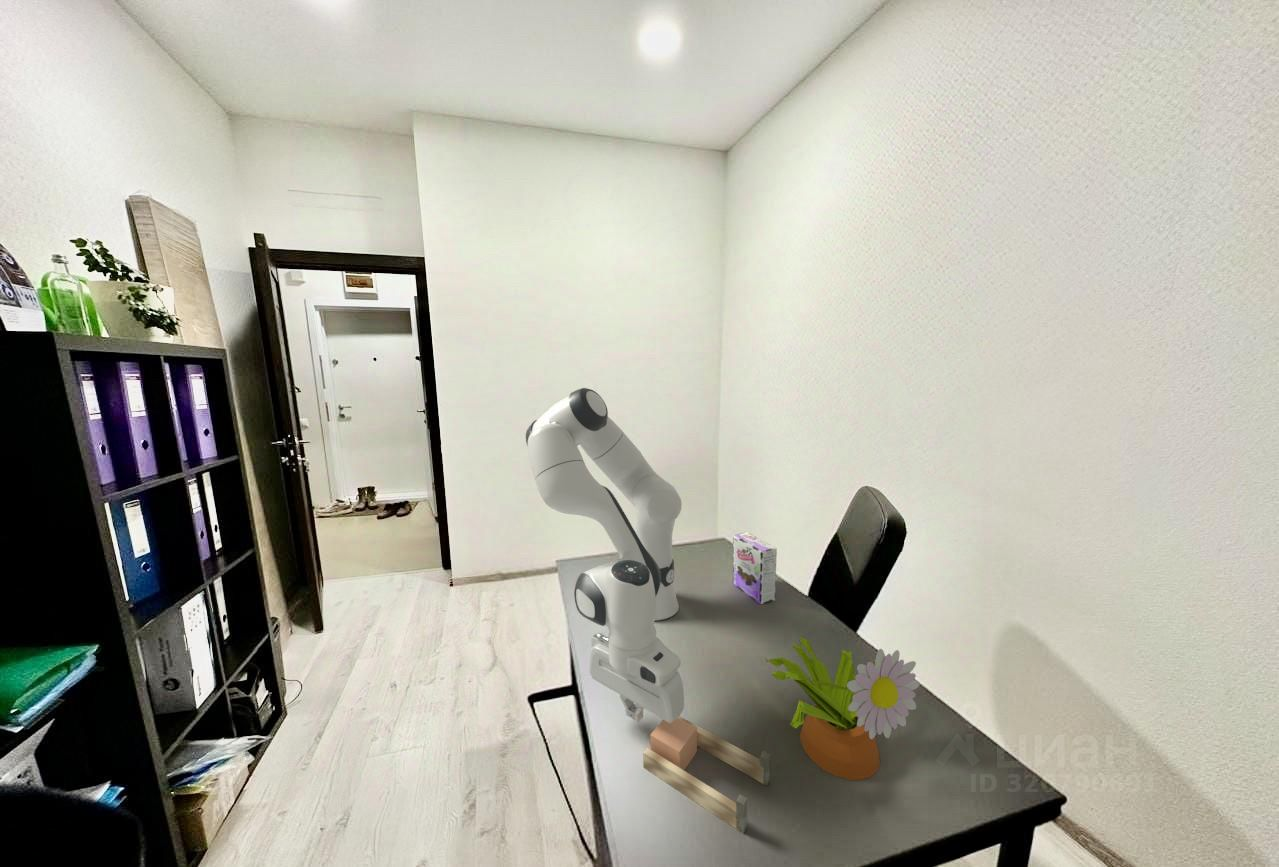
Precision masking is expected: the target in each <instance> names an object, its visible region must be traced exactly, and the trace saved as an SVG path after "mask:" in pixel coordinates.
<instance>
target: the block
mask: <svg viewBox="0 0 1279 867" xmlns="http://www.w3.org/2000/svg"><path fill="white" fill-rule="evenodd" d="M649 736H650V737H649V738H650V739H649V740H650V750H652V751H653V752H655V753H657V754H658V755H660V756H661V757H663V758H665V759H666V760H668V761H669V762H671V763H673V764H674V765H676V766H677V767H679V768H681V769H682V770H684V771H685V770H686V769H687V767H688V766H689V764H690V763H691V761H692V760H693V758H694V757H695V755H696V754H697V752H698V746H697V728H696V727H694V726H693V725H691V724H689V723H687V722H685V721H683V720H681V719H679V718H677V719H676V720H675V721H673V722H672V723H668V722H667V721H665V720H663V719H661V721H660V723H659V724H658V725H657V726H656V728H655V729H654V730H653V731H652V732H651V733H650V735H649Z"/></svg>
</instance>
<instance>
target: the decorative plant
mask: <svg viewBox="0 0 1279 867" xmlns="http://www.w3.org/2000/svg"><path fill="white" fill-rule="evenodd" d="M798 638H799V639H798V640H799V642H800V645H802V646H803V647H804V648H805V650H806V651H807V652H808V653H807V652H806V651H805V650H804V648H802V646H800V645H798V644H794V643H793V644H792V643H791V644H790V645H791V646H792V647H793V649H794V651H795V652H796V653H797V654H798V655H799V657H800V658H801V659H802V661H803V662H804V664H805V666H806V669H807V671H808V673H809V675H810V678H811V679H810V678H809V677H808V675H807V674H806V673H805V672H804V671H803V670H802V669H801V667H800V666H799V664H797V663H796V662H793V661H791V660H789V659H787V658H785V657H775V658H771V659H767V658H765V661H766V662H769V663H770V664H772V665H773V666H775V667H777V668H778V667H780V666H781V665H783V666H784V667H785V668H786V669H787V670H788V671H786V672H784V671H782V670H774V671H772V674H771V676H772V677H773V678H774V679H776V680H779V681H780V680H781V681H786V680H788V679H792V680H794V682H796V683H797V684H798V685H799V686H800V687H801V688H802V689H803V691H804V692H805V693H806V694H807V696H808V697H809V699H810V700H812V702H813V703H814V704H815V705H812V704H810V703H807V702H805V701H802V700H800V699H799V700H798V702H797V703H798V704H797V707H796V711H795V712H794V714H793V716H792V717H793V718H792V719H791V722H790V723H789V726H792V727H793V728H794V729H797V728H799V727H800V726H801V730H800V735H799V738H800V742H801V743H800V744H801V746H802V747H803V750H804V752H805V753H806V754H807V756H808V757H809V758H810V759H811V761H812V762H813V763H814V764H816V765H817V767H819V768H820V769H822V770H824V771H825V772H827V773H829V774H831V775H833V776H835V777H837V778H841V779H844V780H845V779H846V780H850V781H856V780H857V781H860V780H865V779H868V778H870V777H872V776H873V775H875V773H877V771H878V770H879V767H880V762H881V761H880V759H881V758H880V753H879V749H878V748H879V747H878V743H877V742H878V741H877V739H876V735H877V734H878V735H880V736H881V735H882V734H883V735H884V737H885V738H886V739H889V738H890V737H891V733H892V728H893V729H894V730H896V729H898V725H899V726H900V727H901V726H902V727H906V725H907V718H906V717H908V716H909V715H910V712H909V710H910V711H911V710H912V711H914V710H916V709H917V704H916V702H915V701H914V698H915V697H916V693H915V692H914V690H916V689H918V688H919V687H920V685H921V684H920V682H919V681H918V680H916V679H915V678H916V677H917V675H916V673H913V670H914V669H915V667H916V664H917V662H916V661H913V660H912V661H911V660H910V661H909V662H906V663H905V660H904V659H900V651H899V649H897V650H895V651H894V652H893V653H892V654H891V653H887V654H886V655H885V651H884V650H883V648H879V649H878V650H877V653H876V654H875V655H876V656H875V661H872V662H871V661H868V662H867V663H866V664H863V663H859V664H857V667H856V671H857V672H858V673H857V674H856V671H855V667H854V663H853V662H854V661H853V658H852V652H851V650H844V649H841V651H840V652H841V655H840V660H839V663H838V667H837V671H836V674H835V679H834V682H833V681H832V678H831V677H830V675H829V672H828V670H827V667H826V665H825V664H824V663H823V662H821V660H819V658H818V657H817V656H816V654H815V653H814V650H813V647H812V646H811V643H810V640H808V639H806V638H803V637H798ZM808 654H809V655H810V656H811V657H810V656H809V655H808ZM804 714H806V716H805V718H804Z"/></svg>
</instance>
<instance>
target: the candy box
mask: <svg viewBox="0 0 1279 867" xmlns="http://www.w3.org/2000/svg"><path fill="white" fill-rule="evenodd" d="M732 538H733V539H732V543H733V544H732V584H733V585H734V586H735V587H736V588H738V589H739V590H741V591H742V592H744V593H745V595H746V596H749V598H751V599H753V601H755V602H756V603H758V604H759V605H763V604H768V603H771V602H776V585H777V584H776V580H777V577H776V576H777V553H778V552H777V551H778V548H777V547H775V546H773V545H772V544H769V543H768V542H766V541H764V540H762V539H760V538H759V537H757V536H755V535H754V534H752V533H750V532H748V531H746V532H742V533H738V534H733V535H732Z"/></svg>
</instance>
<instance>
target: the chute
mask: <svg viewBox="0 0 1279 867" xmlns="http://www.w3.org/2000/svg"><path fill="white" fill-rule="evenodd" d="M678 718H679V719H681V720H683V721H685V722H687V723H689V724H691V725H693V726H694V727H696V728H697V748H699V749H701V750H703V751H705V752H706V753H708V754H710V755H712V756H713V757H716V758H717V759H719V760H721V761H722V762H724V763H726V764H728V765H730V766H731V767H733V768H735V769H736V770H738V771H740V772H741V773H743V774H746V775H747V776H749V777H750V778H753V779H754V780H756V781H757V782H759V783H761V784H762V785H763V786H768V784H769V782H770V780H771V778H770V776H771V773H770V771H771V754H770V753H769V752H766V751H765V750H762V751H761V754H760V756H759V758H758V757H756V756H754V755H752V754H750V753H749V752H746V751H745V750H743V749H742V748H740V747H738V746H735V745H734V744H731V743H730V742H728V741H726V740H725V739H722V738H721V737H720V736H718V735H715V734H713V733H712V732H710V731H708V730H706V729H704V728H703V727H701V726H698V725H696V723H694V722H692V721H689V720H687V719H686V718H684V717H682V716H681V715H680V716H679V717H678ZM642 757H643V760H642V762H643V764H642V765H643V769H645V770H647V771H648V772H649V773H651V774H653V775H654V776H655V777H657V778H659V779H660V780H661V781H663V782H664V783H666V784H667V785H669V786H671V787H672V788H673V789H675V790H677V791H678V792H680V793H681V794H683V795H685V797H687V798H689V799H690V800H692V801H693V802H695V803H696V804H698V805H700V806H701V807H703V808H704V809H705V810H707V811H709V812H710V813H712V814H713V815H714V816H716V817H717V818H719V819H720V820H722V821H724V822H725V823H727V825H728V824H729V825H730V826H732V827H733V828H734V829H736V830H737V831H739V832H740V833H742V834H745V832H746V830H747V826H748V798H747V797H745V796H744V795H742V794H740V793H739V794H738V797H737V798H736V800H735V801H734V800H732V799H730V798H729V797H727V796H726V795H724V794H722V793H721V792H719V791H717V790H716V789H714V788H713V787H711V786H709V785H708V784H707V783H705V782H704V781H701V780H700V779H698V778H697V777H695V776H694V775H692V774H691V773H689V772H687V771H685V770H682V769H681V768H679V767H677V766H676V765H674V764H673V763H671V762H669V761H668V760H666V759H665V758H663V757H661V756H660V755H658V754H657V753H655V752H653V751H652V750H651V748H649V747H646V749H644V751H643V753H642Z"/></svg>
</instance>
